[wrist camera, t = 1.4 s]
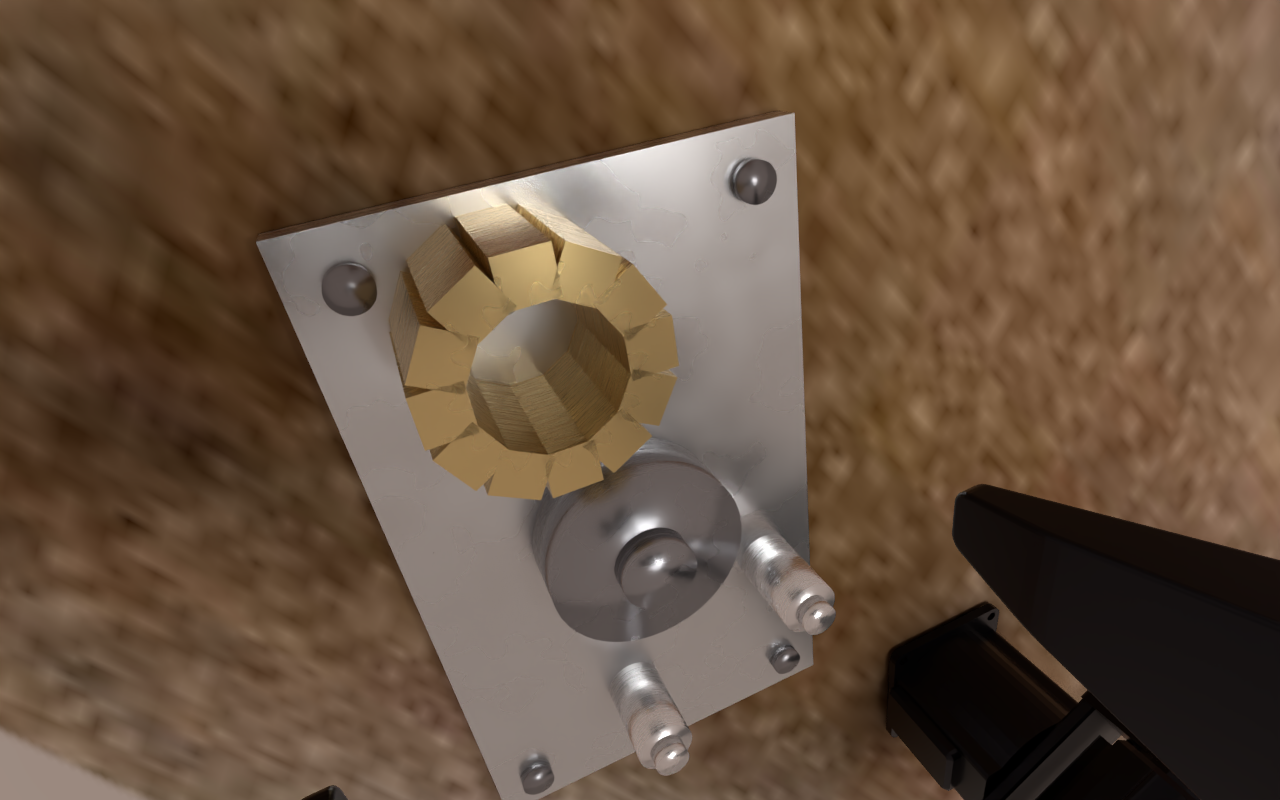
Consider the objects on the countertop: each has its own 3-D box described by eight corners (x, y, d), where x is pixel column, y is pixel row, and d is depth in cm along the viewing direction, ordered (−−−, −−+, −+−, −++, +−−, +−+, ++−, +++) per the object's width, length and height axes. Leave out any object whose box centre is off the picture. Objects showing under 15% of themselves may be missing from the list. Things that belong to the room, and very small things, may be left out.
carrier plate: (778, 110, 20) (882, 124, 16) (802, 651, 31) (866, 731, 28) (258, 233, 16) (240, 288, 12) (503, 795, 28) (531, 908, 24)
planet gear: (595, 181, 18) (657, 211, 14) (630, 383, 21) (690, 447, 17) (356, 240, 16) (365, 290, 13) (432, 450, 19) (456, 534, 16)
